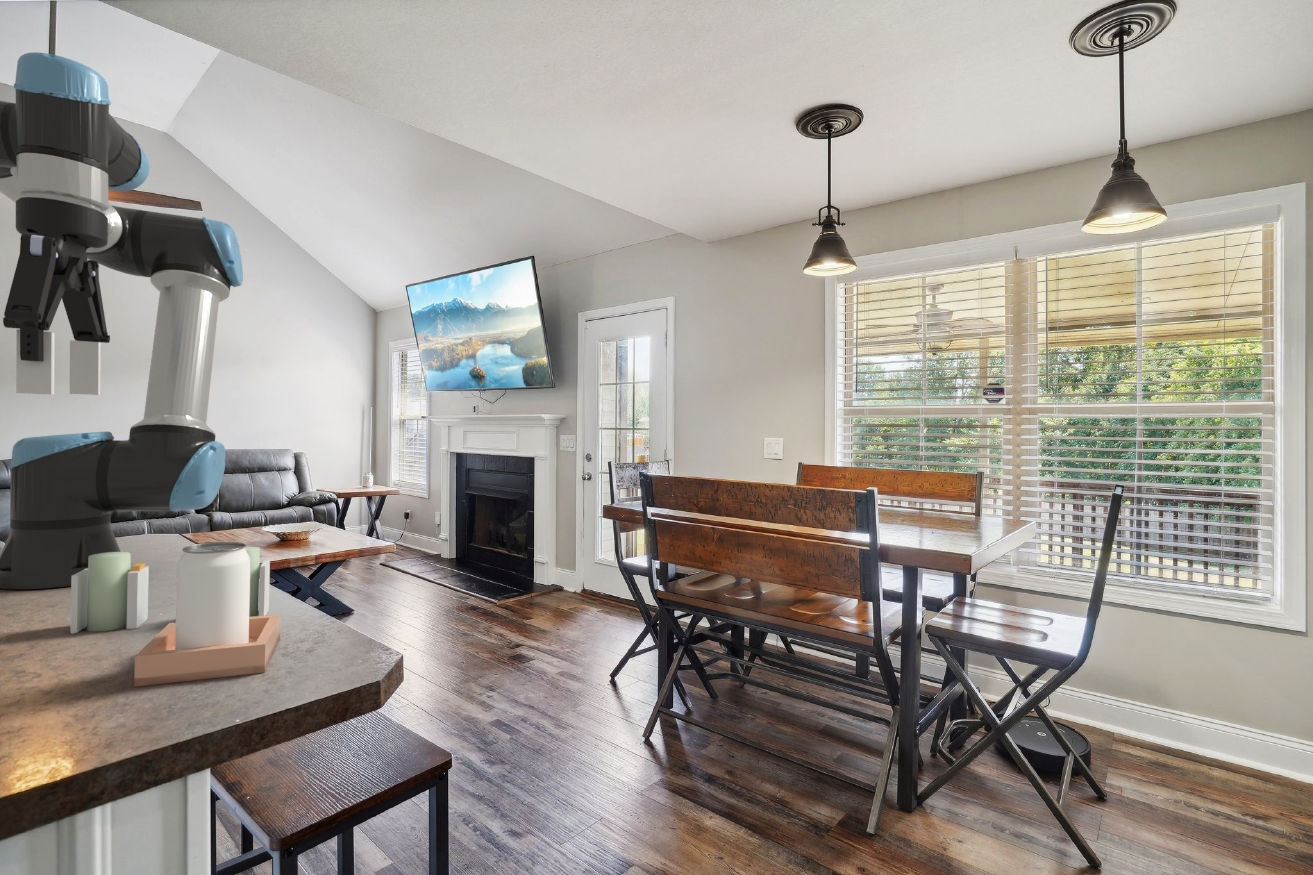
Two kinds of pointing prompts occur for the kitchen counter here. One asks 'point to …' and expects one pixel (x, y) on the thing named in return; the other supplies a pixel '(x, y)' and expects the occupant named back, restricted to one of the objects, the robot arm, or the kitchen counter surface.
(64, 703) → the kitchen counter surface
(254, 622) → the tray
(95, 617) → the peg
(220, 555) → the can
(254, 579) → the green piece
